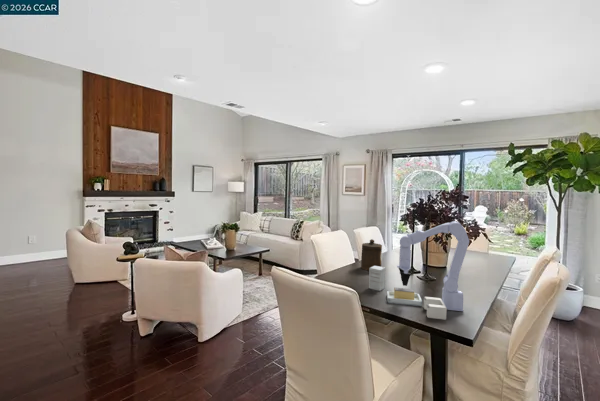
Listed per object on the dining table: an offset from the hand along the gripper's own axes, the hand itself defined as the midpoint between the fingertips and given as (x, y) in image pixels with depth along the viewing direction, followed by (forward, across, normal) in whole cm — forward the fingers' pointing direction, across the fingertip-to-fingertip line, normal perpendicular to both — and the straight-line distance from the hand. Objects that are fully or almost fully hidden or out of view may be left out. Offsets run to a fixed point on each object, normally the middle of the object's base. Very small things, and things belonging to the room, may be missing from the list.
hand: (404, 283), depth 163 cm
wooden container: (+10, -62, -18) cm, 65 cm away
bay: (+9, +13, +13) cm, 21 cm away
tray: (+9, 0, 0) cm, 9 cm away
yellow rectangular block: (+9, 0, 0) cm, 9 cm away
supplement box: (+10, -16, -14) cm, 24 cm away
